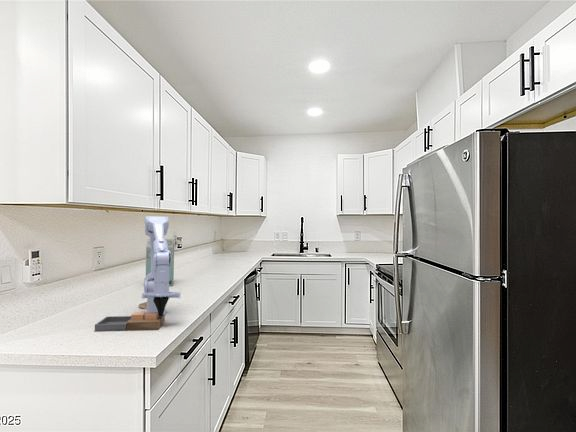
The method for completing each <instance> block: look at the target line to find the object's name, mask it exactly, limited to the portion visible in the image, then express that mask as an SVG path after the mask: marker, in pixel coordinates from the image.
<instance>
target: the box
mask: <svg viewBox="0 0 576 432" xmlns="http://www.w3.org/2000/svg"><path fill="white" fill-rule="evenodd" d="M129 320H131V315H124V316H123V315H122V316H120V315H119V316H117V315H115V316H105V317H104V318H103V319H100V321H98V322H97V323H95V324H94V332H126V331H127V322H128V321H129Z"/></svg>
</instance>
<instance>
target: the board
mask: <svg viewBox="0 0 576 432" xmlns="http://www.w3.org/2000/svg"><path fill="white" fill-rule="evenodd" d="M165 316H166V313H165V314H163V316H162V317H158V318H157V319H156V320H145V319H144V320H129V321H128V322H127V330H126V331H127V332H128V331H158V330H159V329H160V328H162V326H163V325H164V323H165V321H166V318H165Z"/></svg>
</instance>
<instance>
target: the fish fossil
mask: <svg viewBox="0 0 576 432" xmlns="http://www.w3.org/2000/svg"><path fill="white" fill-rule="evenodd" d="M138 308H139V309H141V308H142V309H145V310H147V301H144V302H142V303H139V304H138Z"/></svg>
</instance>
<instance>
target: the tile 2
mask: <svg viewBox="0 0 576 432" xmlns="http://www.w3.org/2000/svg"><path fill="white" fill-rule="evenodd" d="M158 317H159V315H158V312H147V311H146V314H145V320H156V319H157V318H158Z"/></svg>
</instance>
